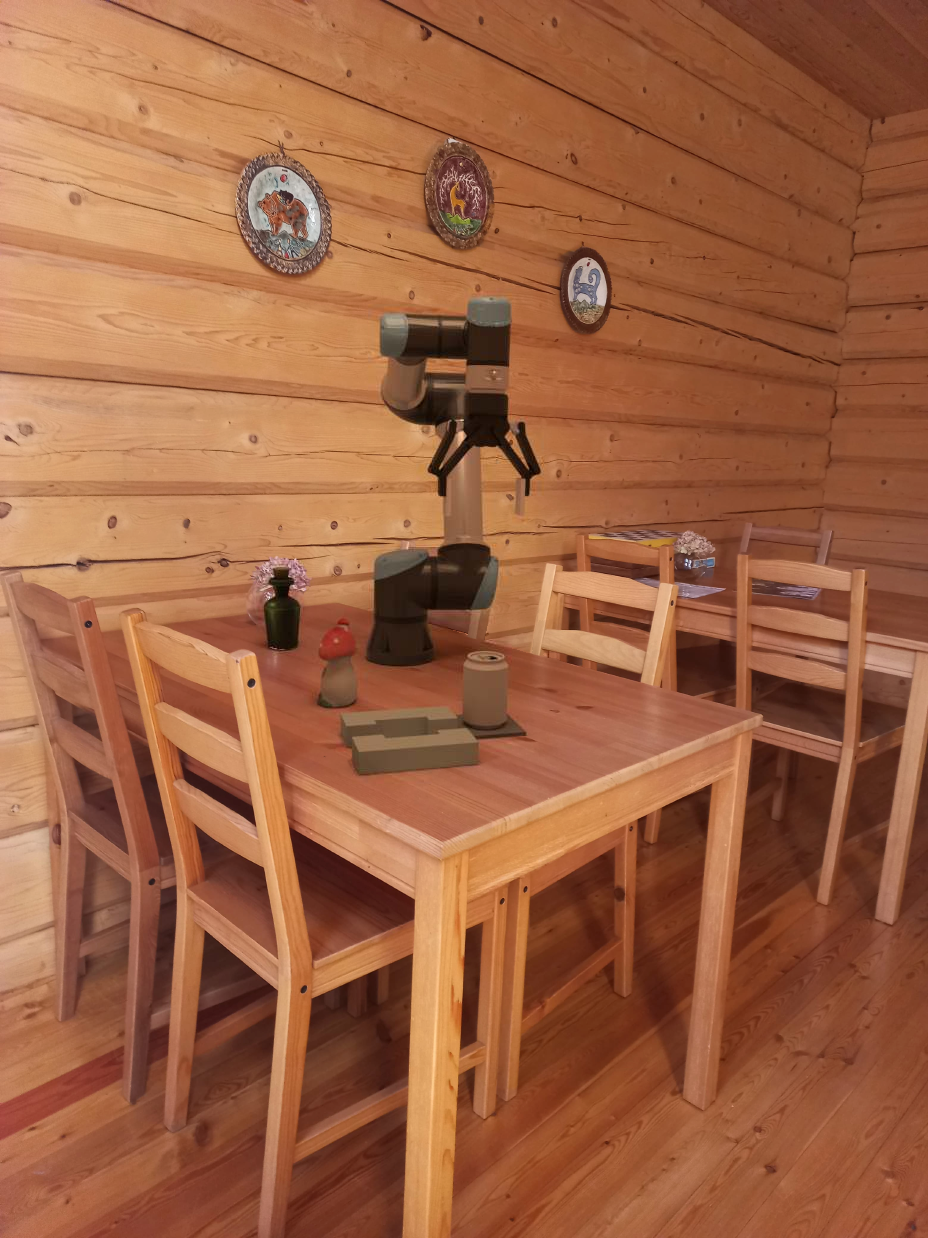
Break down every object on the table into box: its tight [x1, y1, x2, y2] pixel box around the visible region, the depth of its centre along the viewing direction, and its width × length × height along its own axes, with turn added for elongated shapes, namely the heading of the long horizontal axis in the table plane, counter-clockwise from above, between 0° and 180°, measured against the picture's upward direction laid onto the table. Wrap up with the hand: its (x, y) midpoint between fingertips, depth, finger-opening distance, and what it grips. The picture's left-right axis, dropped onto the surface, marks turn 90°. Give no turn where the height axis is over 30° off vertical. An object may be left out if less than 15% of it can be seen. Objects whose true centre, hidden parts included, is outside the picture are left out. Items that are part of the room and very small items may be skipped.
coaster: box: [455, 713, 527, 740], centre depth 150 cm, size 11×11×1 cm
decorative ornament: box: [316, 618, 358, 709], centre depth 160 cm, size 9×7×15 cm
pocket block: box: [339, 705, 480, 776], centre depth 139 cm, size 18×18×4 cm
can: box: [461, 650, 509, 729], centre depth 148 cm, size 8×8×12 cm
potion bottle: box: [263, 566, 301, 650], centre depth 198 cm, size 8×8×18 cm
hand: (483, 515), depth 158 cm, fingers open, 13 cm apart
